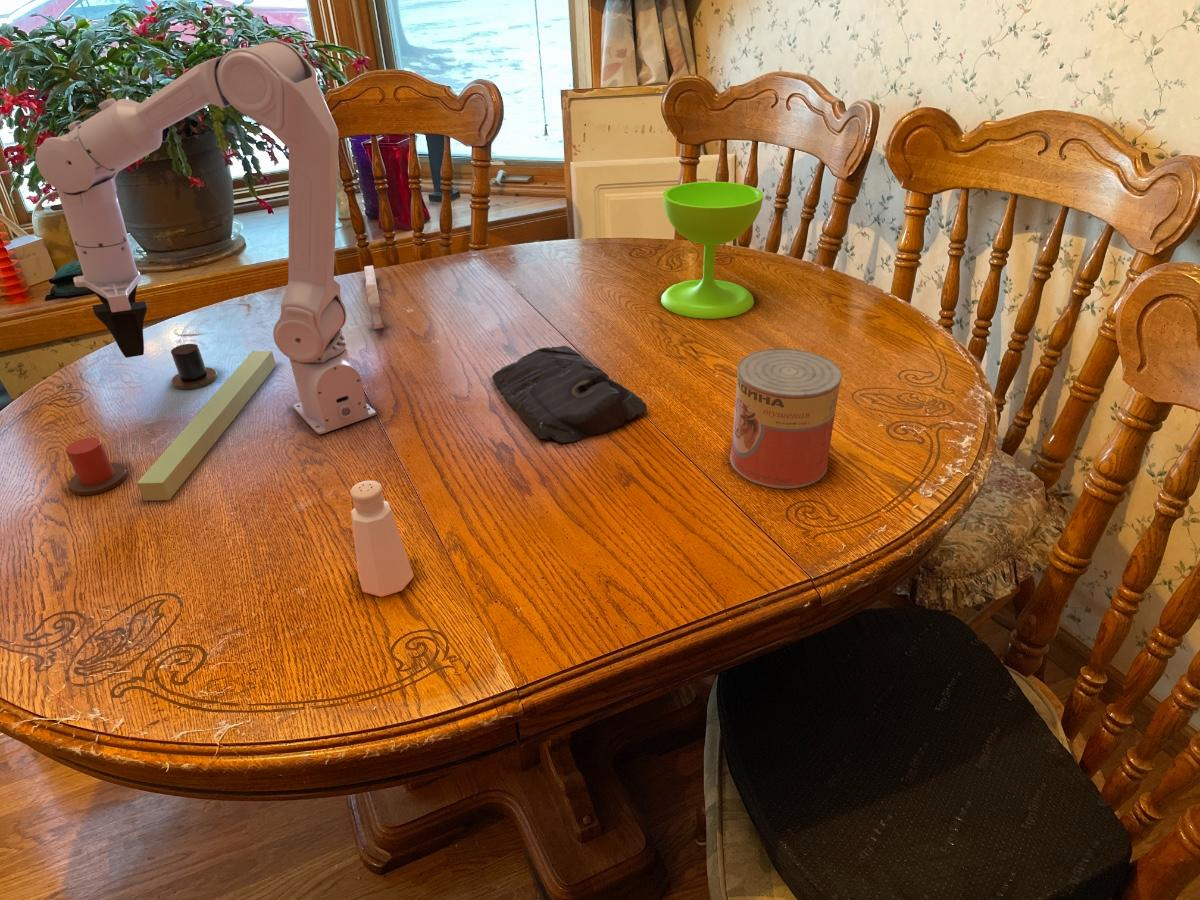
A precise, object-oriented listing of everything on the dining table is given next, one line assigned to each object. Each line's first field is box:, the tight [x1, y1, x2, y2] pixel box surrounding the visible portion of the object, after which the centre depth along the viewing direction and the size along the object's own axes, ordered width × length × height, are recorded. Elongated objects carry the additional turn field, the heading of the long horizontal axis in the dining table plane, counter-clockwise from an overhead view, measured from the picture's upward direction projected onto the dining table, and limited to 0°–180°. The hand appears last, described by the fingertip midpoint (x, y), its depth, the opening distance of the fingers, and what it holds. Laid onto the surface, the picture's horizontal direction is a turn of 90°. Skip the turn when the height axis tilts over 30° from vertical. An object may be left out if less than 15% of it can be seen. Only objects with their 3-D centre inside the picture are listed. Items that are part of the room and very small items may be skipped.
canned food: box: [729, 348, 843, 490], centre depth 89 cm, size 11×11×12 cm
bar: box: [136, 350, 277, 502], centre depth 102 cm, size 34×3×2 cm, turn 0°
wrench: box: [363, 264, 385, 330], centre depth 134 cm, size 8×2×30 cm
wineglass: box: [660, 181, 764, 320], centre depth 129 cm, size 16×16×18 cm
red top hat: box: [65, 436, 128, 497], centre depth 91 cm, size 6×6×5 cm
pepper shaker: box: [349, 479, 415, 598], centre depth 74 cm, size 5×5×11 cm
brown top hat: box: [170, 343, 218, 391], centre depth 112 cm, size 6×6×5 cm
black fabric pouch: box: [491, 345, 648, 445], centre depth 105 cm, size 15×22×5 cm
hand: (131, 343), depth 101 cm, fingers open, 7 cm apart
